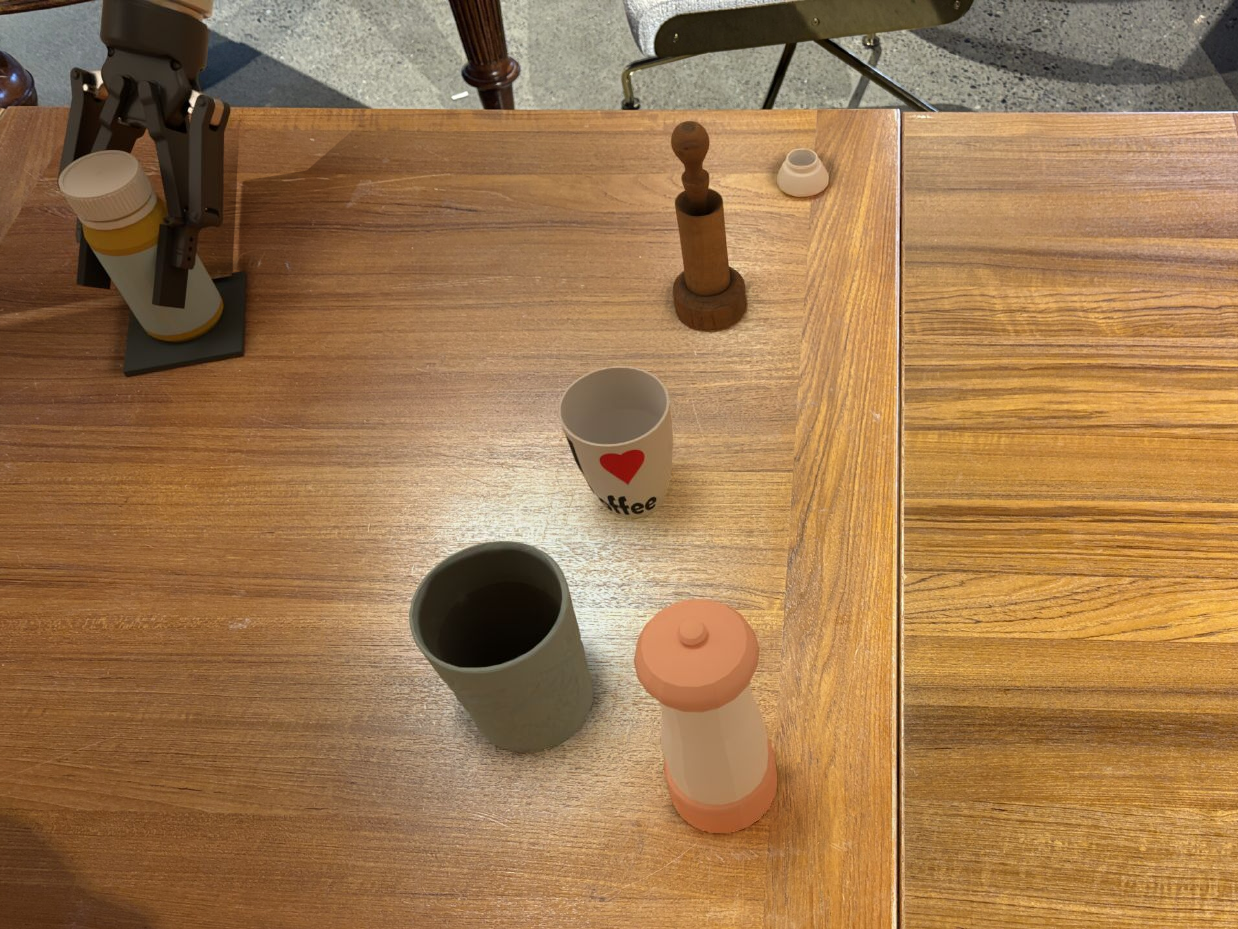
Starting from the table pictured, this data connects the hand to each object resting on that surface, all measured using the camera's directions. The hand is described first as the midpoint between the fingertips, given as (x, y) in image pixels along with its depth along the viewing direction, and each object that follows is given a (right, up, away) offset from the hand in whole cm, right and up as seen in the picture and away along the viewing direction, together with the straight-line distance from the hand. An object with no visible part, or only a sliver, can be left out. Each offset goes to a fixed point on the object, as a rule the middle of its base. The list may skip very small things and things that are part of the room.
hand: (130, 296), depth 101 cm
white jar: (+56, +15, +17) cm, 61 cm away
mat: (+1, -1, +7) cm, 7 cm away
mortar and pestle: (+48, +1, +7) cm, 49 cm away
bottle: (+1, 0, +7) cm, 7 cm away
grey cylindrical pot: (+38, -33, -16) cm, 53 cm away
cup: (+43, -17, -5) cm, 47 cm away
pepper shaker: (+52, -39, -20) cm, 67 cm away
